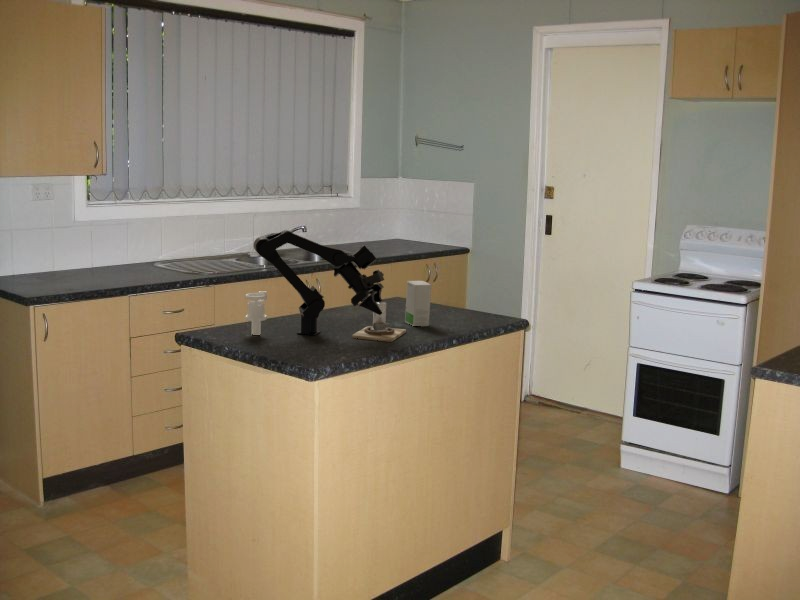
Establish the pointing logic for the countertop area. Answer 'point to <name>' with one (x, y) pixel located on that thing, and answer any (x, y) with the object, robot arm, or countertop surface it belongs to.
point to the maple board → (379, 334)
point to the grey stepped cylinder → (256, 310)
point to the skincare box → (418, 303)
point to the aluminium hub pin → (379, 319)
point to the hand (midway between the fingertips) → (383, 312)
